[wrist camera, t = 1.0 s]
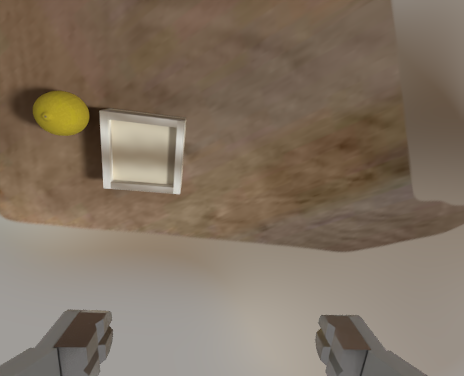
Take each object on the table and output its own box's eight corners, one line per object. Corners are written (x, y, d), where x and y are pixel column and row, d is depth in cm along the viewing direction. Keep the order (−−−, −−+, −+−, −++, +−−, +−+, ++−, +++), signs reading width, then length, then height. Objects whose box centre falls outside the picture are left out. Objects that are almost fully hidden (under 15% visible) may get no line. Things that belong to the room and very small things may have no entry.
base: (110, 108, 35) (99, 110, 32) (186, 118, 37) (184, 121, 33) (113, 178, 39) (103, 188, 36) (181, 184, 41) (179, 194, 37)
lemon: (106, 120, 36) (81, 128, 29) (73, 136, 36) (41, 148, 29) (81, 83, 34) (48, 81, 27) (47, 101, 34) (5, 104, 27)
